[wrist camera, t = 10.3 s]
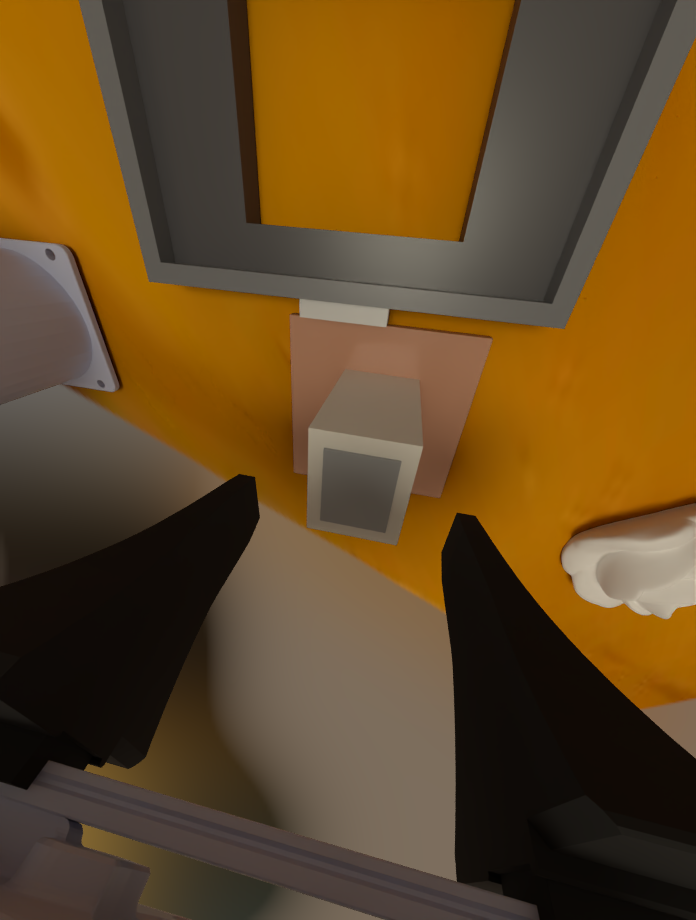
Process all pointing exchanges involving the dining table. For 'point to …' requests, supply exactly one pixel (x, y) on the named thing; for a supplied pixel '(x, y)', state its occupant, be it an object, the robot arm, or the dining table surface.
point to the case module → (364, 456)
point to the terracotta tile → (396, 354)
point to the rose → (637, 562)
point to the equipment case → (381, 256)
